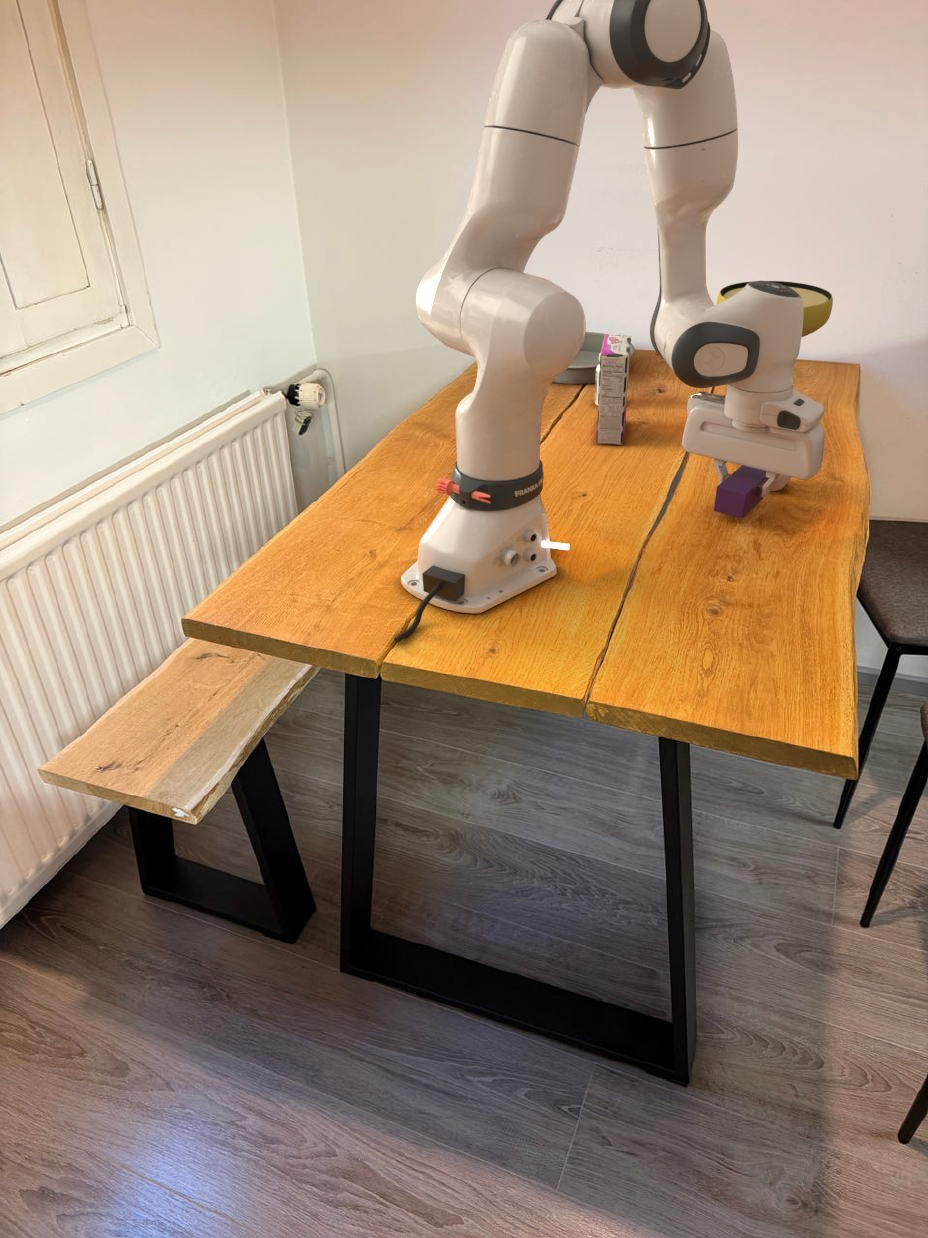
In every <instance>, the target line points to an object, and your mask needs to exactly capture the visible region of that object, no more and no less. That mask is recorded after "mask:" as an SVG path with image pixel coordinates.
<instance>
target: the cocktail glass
mask: <svg viewBox="0 0 928 1238" xmlns="http://www.w3.org/2000/svg"><path fill="white" fill-rule="evenodd" d="M769 281H770V282H775V283H779V284H782V285H785V286H788V287H790V288H791V289H793V290H794V291H796V292H797V293H798V294H799V295H800V297H801V298H802V300H803V305H804V316H803V329H802V337H801V338H804V337H806V336H809V335H810V334H813V333H815V332H816V331H818V330H819V329H821V328H822V327H824V326H825V325H826V324H827V323H828V321H829V319H830V317H831V314H832V310H833V304H834V298H833V295H832V293H831V292H830V291H828V290H827V289H824V288H822V287H819V286H816V285H813V284H812V285H811V284H808V283H802V282H794V281H783V280H781V281H780V280H769ZM749 282H750V281H742V282H737V283H733V284H729V285H727V286H724V287H723V288H721V289H720V291H719V293H718V295H717V299H716V304H715V305H717V304H719V303H721V302H723V301H725V300H727V299H729V298H730V297H732V296H734V295H735V294H736V293H738V292H739V291H741V290H742V289H743V288H744V287H745V286H746V285H747V284H748V283H749ZM751 282H753V281H751Z"/></svg>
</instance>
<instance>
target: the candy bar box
mask: <svg viewBox="0 0 928 1238" xmlns="http://www.w3.org/2000/svg"><path fill="white" fill-rule="evenodd" d="M631 342H632V335H625V334H624V335H623V334H622V335H621V334H614V335H613V334H609V335H605V336H604V341H603V346H602V350H601V354H600V372H599V396H598V406H597V420H596V421H597V422H596V440H595V441H596V442H595V443H596V444H597V445H602V446H603V445H604V446H623V443H624V437H625V429H626V423H627V420H626V419H627V408H628V407H627V405H628V387H629V374H630V373H629V372H630V358H631V357H630V346H631V344H632V343H631Z"/></svg>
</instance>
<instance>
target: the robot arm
mask: <svg viewBox="0 0 928 1238" xmlns="http://www.w3.org/2000/svg"><path fill="white" fill-rule="evenodd" d="M732 70H733V69H732V64H731V60H730V56H729V50H728V47H727V44H726V42H725V39H724V38H723V37H722V36H721V35H720V34H719V33H718V32H716V30H713V29H711V24H710V22H709V18H708V10H707V5H706V1H705V0H555V2H554V3H553V4H552V6H551V8H550V9H549V12H548V14H547V16H546V18H545V19H536V20H531V21H529V22H526V23H523V24H521V25H519V26H518V27H517V28H516V29H515V30H514V31H513V32H512V33H511V35H510V36H509V38H508V39H507V42H506V44H505V47H504V49H503V52H502V54H501V58H500V61H499V64H498V67H497V70H496V73H495V76H494V79H493V84H492V87H491V90H490V94H489V99H488V104H487V106H486V107H487V108H486V112H485V117H484V122H483V128H482V135H481V140H480V145H479V150H478V155H477V161H476V167H475V171H474V175H473V182H472V186H471V190H470V194H469V198H468V202H467V205H466V208H465V212H464V214H463V216H462V219H461V222H460V224H459V226H458V229H457V231H456V233H455V234H454V237H453V239H452V241H451V242H450V245H449V246H448V248H447V250H446V252H445V253H444V254H443V256H442V257H441V259H439V261H438V262H436V263H435V264H434V265H432V266H431V267H430V268H429V269H427V271H426V272H425V273H424V275H423V276H422V278H421V280H420V282H419V284H418V288H417V291H416V296H415V309H416V313H417V316H418V317H417V318H418V319H419V321H420V323H421V325H422V326H423V328H424V329H425V330H427V331H428V332H429V333H430V334H431V335H432V336H433V337H434V338H435V339H437V340H438V341H439V342H441V343H442V344H443V345H444V346H446V347H447V348H450V349H453V350H455V351H458V352H460V353H463V354H466V355H468V356H470V357H473V358H474V359H475V362H476V365H477V371H476V379H475V384H474V388H473V390H472V391H470V393H468V394H467V395H466V396H464V397H463V398H462V399H461V400H460V402H459V403H458V405H456V406H457V407H456V409H455V415H454V418H455V419H454V420H455V421H454V422H455V446H456V447H455V449H456V461H455V463H454V466H453V470H452V473H451V480H449V479H448V478H445V477H442V476H441V477H439V478H438V479H437V481H436V484H435V490H436V492H437V493H441V494H445V495H447V496H448V497H447V499H446V501H445V502H444V504H443V505H442V507H441V508H440V509H439V511H438V513H437V514H436V516H435V517H434V518H433V520H432V522H431V523H430V524H429V526H428V528H427V529H426V530H425V532H424V534H423V535H422V537H421V538H420V540H419V543H418V548H417V560H416V561H415V562H414V563H413V564H412V565H411V566H410V567H409V568H407V570H405V572H403V574H402V575H401V576H400V584H401V586H402V587H403V588H404V590H405V591H407V592H408V593H409V594H410V595H412V596H414V597H416V598H417V599H419V600H421V603H420V604H419V606H418V608H417V610H416V614H415V616H414V619H413V622H412V623H411V625H410V626H409V627H408V628H407V629H405V630H404V631H402V632H401V633H400V634H398V635H396V636H395V637H394V642H396V643H398V644H399V643H400V642H401V641H402V640H404V639H405V638H407V637H409V636H410V635H411V634H412V633H414V632H415V630H416V629H417V628H418V626H420V623H421V621H422V616H423V613H424V611H425V609H426V607H428V604H430V605H433V606H435V607H437V608H441V609H444V610H448V611H452V612H457V613H464V614H481V613H484V612H486V611H488V610H491V609H492V608H494V607H496V606H498V605H500V604H502V603H504V602H506V601H508V600H510V599H512V598H513V597H515V596H517V595H520V594H521V593H524V592H526V591H528V590H529V589H531V588H534V587H535V586H537V585H539V584H541V583H543V582H545V581H547V580H549V579H551V578H553V577H555V576H556V575H557V574H558V571H557V565H556V563H555V562H554V560H553V559H552V556H551V549H556V550H563V551H569V550H570V543H564V542H563V543H562V542H554V541H550V529H549V519H548V518H549V517H548V513H547V512H546V509H545V507H544V503H543V500H542V495H541V493H542V492H543V489H544V479H545V474H544V473H545V472H544V465H543V464H544V463H543V461H542V459H541V436H542V418H543V410H544V406H545V405H544V404H545V401H546V398H547V395H548V392H549V390H550V387H551V385H552V383H554V382H553V380H554V379H555V378H556V376H557V375H559V374H560V373H562V372H563V371H564V370H566V369H567V368H568V367H569V366H570V365H571V364H572V363H573V362H574V360H575V359H576V357H577V356H578V354H579V352H580V350H581V348H582V345H583V342H584V339H585V333H586V332H587V331H586V330H587V320H586V313H585V310H584V307H583V306H582V304H581V302H580V301H579V299H578V298H577V297H575V295H573V294H571V293H570V292H569V291H567V290H565V289H564V288H563V287H561V286H559V285H558V284H556V283H554V282H553V281H551V280H549V279H547V278H544V277H542V276H537V275H533V274H529V273H526V272H524V271H525V269H526V267H527V264H528V262H529V260H530V257H531V256H532V254H533V252H534V250H535V248H536V247H537V245H538V244H539V243H540V242H541V241H542V239H543V238H544V237H546V236H547V235H549V234H550V233H552V232H553V231H555V230H556V229H557V228H558V227H559V226H560V225H561V223H562V222H563V220H564V219H565V216H566V212H567V208H568V204H569V198H570V193H571V189H572V186H573V185H572V184H573V180H574V175H575V170H576V165H577V161H578V157H579V151H580V147H581V142H582V137H583V132H584V127H585V120H586V115H587V112H588V110H589V108H590V105H591V102H592V100H593V98H594V96H596V94H597V92H598V91H599V89H600V88H607V89H610V90H622V89H623V90H624V89H631V90H632V92H633V94H634V95H635V97H636V99H637V102H638V105H639V108H640V111H641V121H642V122H641V126H642V144H643V156H644V165H645V171H646V177H647V183H648V188H649V194H650V197H651V201H652V207H653V211H654V215H655V220H656V227H657V242H658V243H657V244H658V245H657V247H658V265H659V266H658V267H659V292H658V297H657V301H656V305H655V308H654V311H653V314H652V316H651V321H650V326H649V337H650V341H651V342H650V343H651V345H652V347H653V349H654V350H655V352H656V353H657V355H659V356H660V357H661V358H662V360H664V361H665V363H666V365H667V366H668V367H669V368H670V370H671V371H672V372H673V373H674V375H675V376H676V378H678V380H679V381H681V382H682V383H683V384H684V385H686V386H688V387H692V388H695V389H709V388H715V387H721V386H726V390H725V391H726V392H725V395H724V394H719V393H710V392H708V391H704V390H703V391H702V390H700V391H698V392H696V393H692V394H691V395H690V396H689V398H688V400H687V405H686V415H687V418H686V422H685V424H684V425H685V426H684V429H683V432H682V438H681V439H682V440H681V446H682V448H683V449H684V451H685V452H686V453H688V454H693V455H698V456H702V457H706V458H709V459H710V458H711V459H713V467H714V469H715V471H716V474H717V475H718V477H719V478H718V484H717V486H718V485H720V484H721V483H722V482H723V481H724V480H725V479H727V478H728V477H729V476H730V475H731V474H732V473H729V471H728V468H727V465H726V464H727V463H731V464H735V465H739V466H742V465H743V466H747V467H751V468H756V469H760V470H764V471H767V472H766V477H767V478H769V477H770V478H769V480H768V481H767V482H766V483H765V482H761V483H760V484H759V485H757V489H756V491H757V492H756V496H759V497H762V498H763V499H766V498H768V496H769V494H770V492H771V491H770V485H771V484H772V483H773V482H774V481H775V480H776V479H777V477H778V476H779V475H780V474H781V475H785V476H789V477H791V478H794V479H798V480H802V481H809V480H810V479H812V478H814V477H815V476H816V475H817V474H818V473H819V472H820V470H821V468H822V464H823V460H824V459H823V458H824V453H825V452H824V451H825V430H824V428H823V426H822V424H820V422H821V420H822V418H823V417H824V414H825V406H824V405H823V404H822V403H820V402H818V401H817V400H814V399H812V398H811V397H809V396H807V395H805V394H804V393H801V392H800V391H799V390H797V389H795V388H794V383H795V382H794V381H795V379H794V366H795V363H796V360H797V359H798V357H799V354H800V350H801V344H802V338H803V337H802V329H803V316H804V305H803V300H802V298H801V297H800V295H799V294H798V293H797V292H796V291H794V290H793V289H791V288H790V287H788V286H785V285H782V284H779V283H775V282H770V281H771V280H754V281H753V282H752V281H748V282H749V283H748V284H747V285H746V286H745V287H744V288H743V289H742V290H741V291H739V292H738V293H736V294H735V295H734V296H732V297H730V298H729V299H727V300H725V301H723V302H721V303H719V304H717V303H716V304H717V305H716V304H715V303H714V301H713V300H712V298H711V296H710V294H709V291H708V288H707V252H706V251H707V250H706V249H707V247H706V246H707V245H706V244H707V243H706V241H707V240H706V239H707V238H706V236H707V234H706V233H707V227H708V223H709V220H710V217H711V216H712V214H713V212H714V211H715V210H716V209H717V208H718V207H720V206H721V205H722V204H723V203H724V201H725V200H726V199H727V198H728V196H729V195H730V193H731V192H732V190H733V189H734V185H735V180H736V174H737V166H738V158H739V157H738V156H739V128H738V124H739V123H738V110H737V109H738V108H737V107H738V106H737V97H736V89H735V82H734V76H733V71H732Z"/></svg>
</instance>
